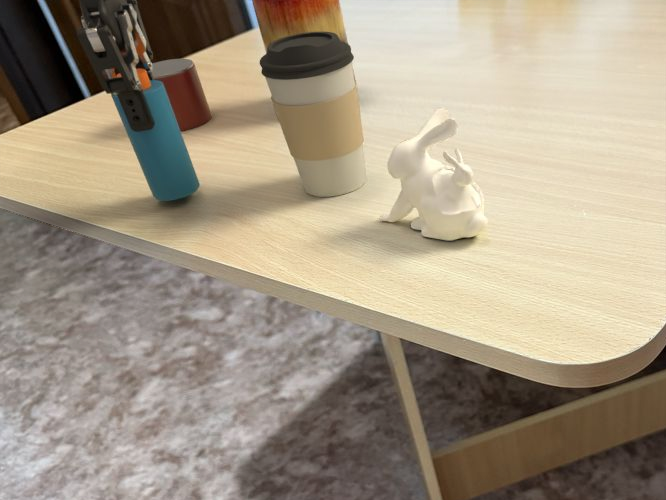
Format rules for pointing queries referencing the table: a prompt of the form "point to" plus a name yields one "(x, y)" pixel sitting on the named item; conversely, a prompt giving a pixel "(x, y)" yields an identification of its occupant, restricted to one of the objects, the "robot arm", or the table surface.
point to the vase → (298, 18)
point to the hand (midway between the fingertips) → (148, 119)
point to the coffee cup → (318, 110)
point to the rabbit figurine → (436, 185)
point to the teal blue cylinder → (161, 145)
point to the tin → (183, 91)
